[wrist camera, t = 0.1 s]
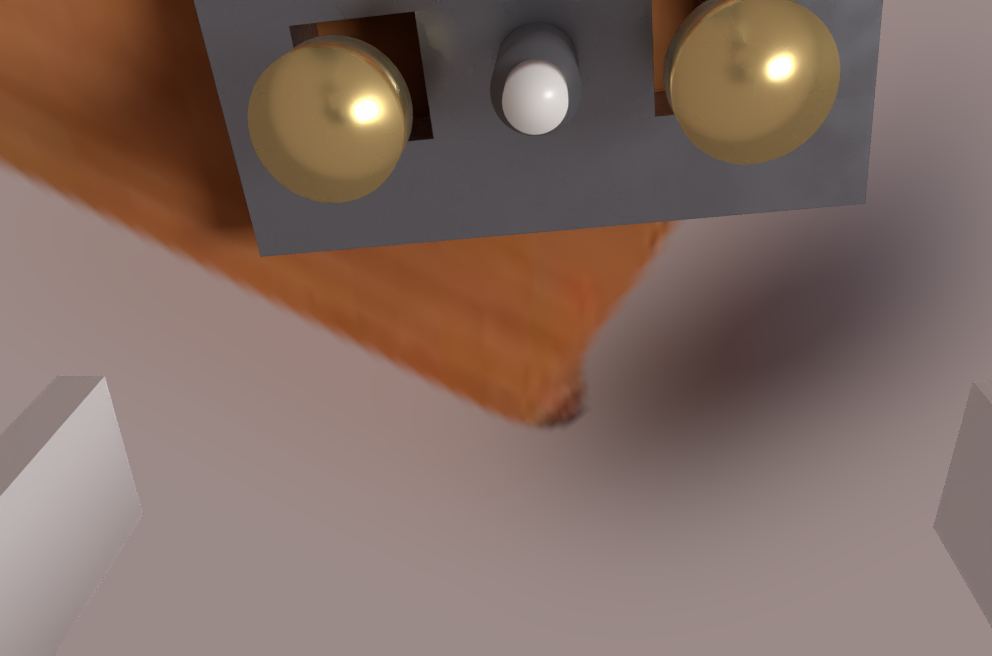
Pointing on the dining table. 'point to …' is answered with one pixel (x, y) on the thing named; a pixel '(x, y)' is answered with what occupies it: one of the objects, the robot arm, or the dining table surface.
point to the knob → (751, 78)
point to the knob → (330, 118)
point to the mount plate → (534, 159)
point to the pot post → (536, 80)
